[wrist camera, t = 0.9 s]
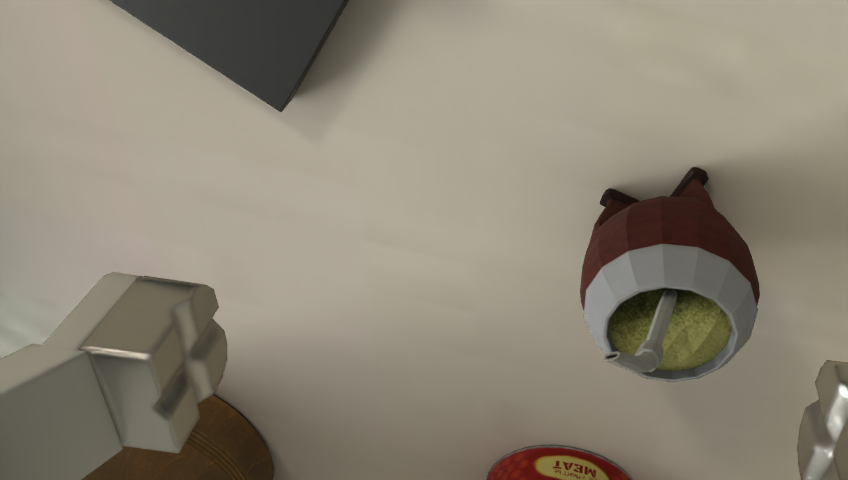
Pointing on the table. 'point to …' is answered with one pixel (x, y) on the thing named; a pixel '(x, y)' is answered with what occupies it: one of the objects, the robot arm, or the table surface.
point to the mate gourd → (668, 284)
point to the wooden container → (198, 452)
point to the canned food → (555, 465)
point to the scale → (246, 37)
